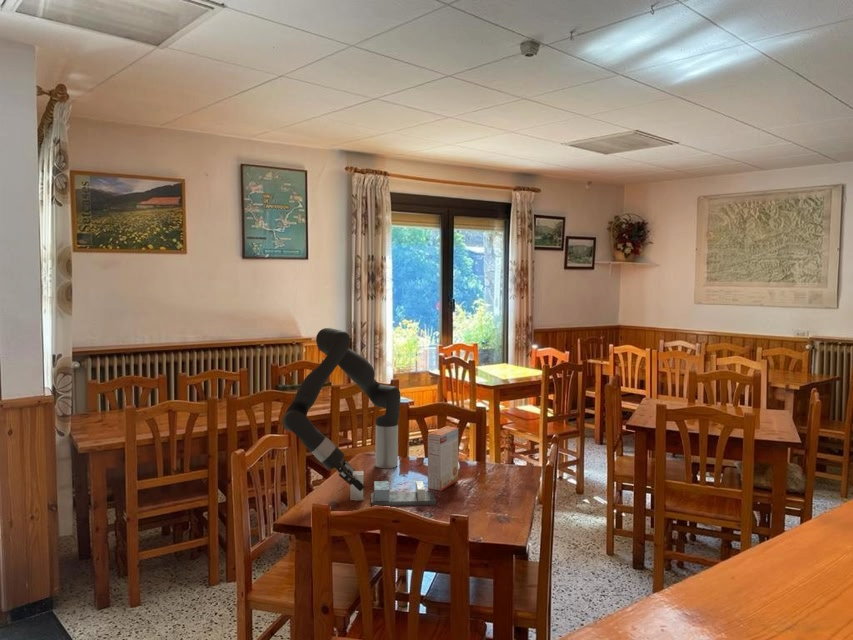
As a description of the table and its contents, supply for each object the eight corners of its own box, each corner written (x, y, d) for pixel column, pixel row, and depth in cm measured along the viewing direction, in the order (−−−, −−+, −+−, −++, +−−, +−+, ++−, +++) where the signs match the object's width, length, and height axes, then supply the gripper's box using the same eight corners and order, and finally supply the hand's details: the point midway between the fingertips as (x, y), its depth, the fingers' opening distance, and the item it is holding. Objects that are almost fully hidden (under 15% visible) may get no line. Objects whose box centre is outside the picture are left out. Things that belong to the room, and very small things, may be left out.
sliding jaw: (373, 492, 223) (374, 481, 222) (388, 492, 223) (388, 481, 223) (374, 501, 214) (374, 489, 214) (389, 501, 214) (389, 489, 214)
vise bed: (371, 497, 223) (371, 482, 222) (433, 495, 225) (433, 480, 225) (371, 506, 214) (371, 490, 213) (436, 504, 216) (436, 489, 216)
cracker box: (444, 478, 245) (445, 425, 243) (458, 481, 241) (459, 427, 240) (426, 488, 233) (426, 432, 231) (440, 491, 229) (441, 435, 228)
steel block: (350, 496, 224) (350, 471, 223) (363, 495, 224) (363, 470, 224) (350, 500, 219) (350, 475, 219) (363, 500, 220) (363, 474, 219)
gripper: (334, 451, 213) (370, 485, 215) (336, 440, 227) (369, 472, 229) (318, 467, 212) (354, 501, 214) (321, 455, 227) (355, 487, 229)
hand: (362, 486), depth 222 cm, fingers closed on steel block, 4 cm apart
